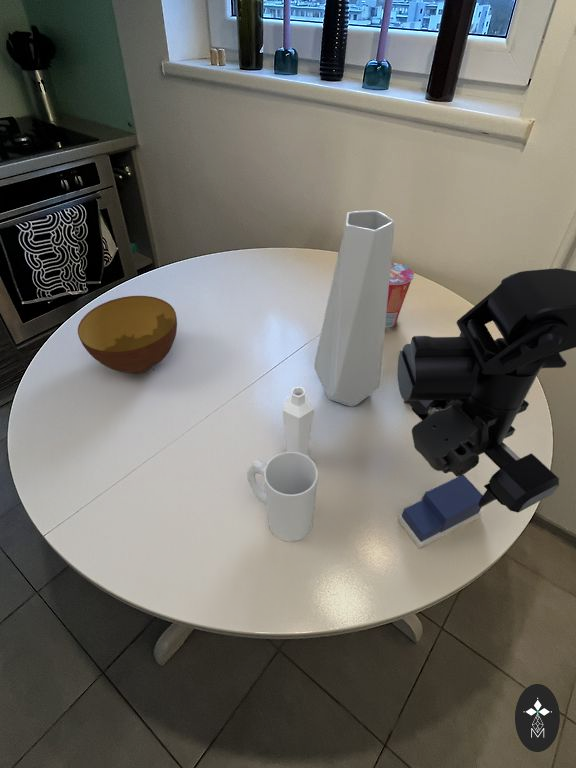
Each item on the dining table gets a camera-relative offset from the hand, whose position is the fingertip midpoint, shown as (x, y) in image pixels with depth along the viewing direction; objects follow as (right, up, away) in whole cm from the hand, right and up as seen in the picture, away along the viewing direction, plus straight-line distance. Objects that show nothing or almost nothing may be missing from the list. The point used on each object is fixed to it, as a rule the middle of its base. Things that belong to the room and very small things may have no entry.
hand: (456, 477), depth 58 cm
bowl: (-51, +16, +32) cm, 63 cm away
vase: (-10, +11, +26) cm, 30 cm away
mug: (-23, -7, +7) cm, 25 cm away
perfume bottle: (-20, 0, +15) cm, 25 cm away
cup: (-1, +26, +42) cm, 49 cm away
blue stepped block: (0, -7, +7) cm, 10 cm away
